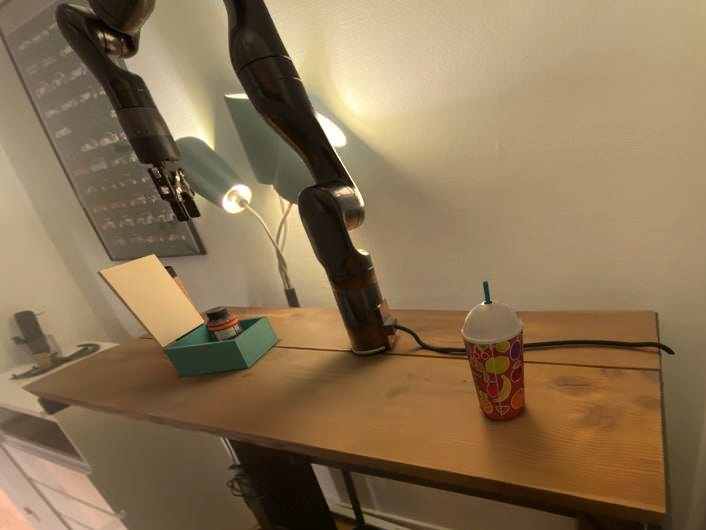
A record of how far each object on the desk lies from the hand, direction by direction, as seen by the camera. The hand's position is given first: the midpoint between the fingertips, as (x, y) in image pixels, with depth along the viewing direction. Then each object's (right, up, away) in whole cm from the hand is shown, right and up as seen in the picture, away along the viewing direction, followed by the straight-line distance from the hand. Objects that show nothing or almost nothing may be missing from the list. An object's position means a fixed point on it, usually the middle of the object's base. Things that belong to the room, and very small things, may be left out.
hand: (191, 219), depth 84 cm
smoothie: (+69, -39, -27) cm, 84 cm away
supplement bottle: (+8, -30, +5) cm, 32 cm away
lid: (-6, -18, -2) cm, 19 cm away
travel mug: (-12, -27, +18) cm, 35 cm away
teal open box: (+6, -31, +5) cm, 32 cm away
